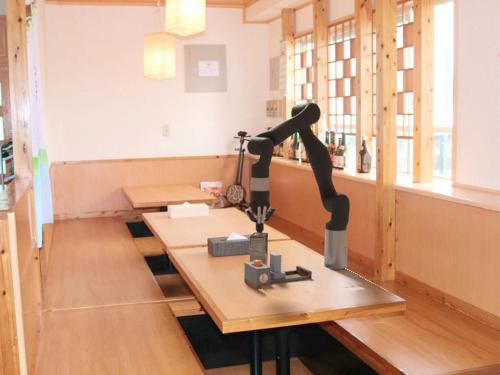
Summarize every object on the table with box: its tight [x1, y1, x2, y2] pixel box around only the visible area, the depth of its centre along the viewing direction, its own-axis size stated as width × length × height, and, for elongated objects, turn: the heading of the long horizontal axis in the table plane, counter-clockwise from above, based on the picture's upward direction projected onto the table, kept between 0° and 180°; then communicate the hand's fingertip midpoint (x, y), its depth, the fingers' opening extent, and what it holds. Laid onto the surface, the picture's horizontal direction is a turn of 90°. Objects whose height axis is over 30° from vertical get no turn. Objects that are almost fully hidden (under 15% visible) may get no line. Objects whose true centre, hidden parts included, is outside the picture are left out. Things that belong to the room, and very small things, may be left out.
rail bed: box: [243, 265, 313, 290], centre depth 260 cm, size 25×11×4 cm, turn 116°
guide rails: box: [269, 269, 310, 285], centre depth 261 cm, size 18×11×1 cm, turn 116°
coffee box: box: [249, 231, 269, 266], centre depth 276 cm, size 9×6×16 cm
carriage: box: [269, 252, 286, 280], centre depth 259 cm, size 5×8×10 cm, turn 25°
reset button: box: [253, 260, 262, 267], centre depth 255 cm, size 3×3×3 cm
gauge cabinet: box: [243, 261, 271, 286], centre depth 255 cm, size 6×11×6 cm, turn 26°
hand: (259, 232), depth 254 cm, fingers closed
